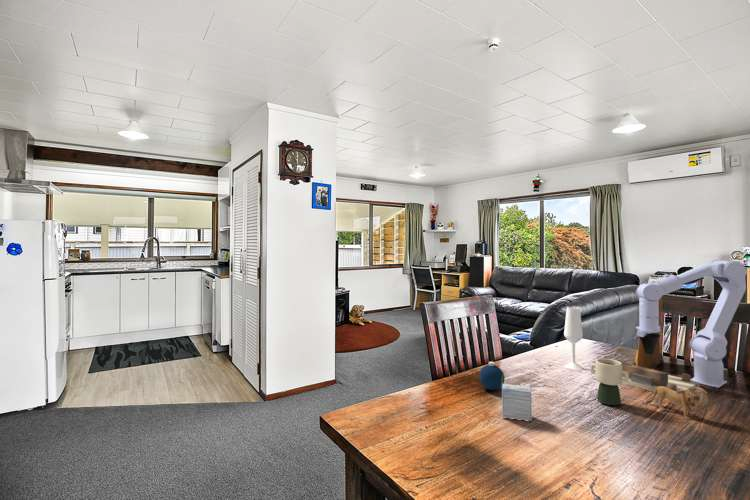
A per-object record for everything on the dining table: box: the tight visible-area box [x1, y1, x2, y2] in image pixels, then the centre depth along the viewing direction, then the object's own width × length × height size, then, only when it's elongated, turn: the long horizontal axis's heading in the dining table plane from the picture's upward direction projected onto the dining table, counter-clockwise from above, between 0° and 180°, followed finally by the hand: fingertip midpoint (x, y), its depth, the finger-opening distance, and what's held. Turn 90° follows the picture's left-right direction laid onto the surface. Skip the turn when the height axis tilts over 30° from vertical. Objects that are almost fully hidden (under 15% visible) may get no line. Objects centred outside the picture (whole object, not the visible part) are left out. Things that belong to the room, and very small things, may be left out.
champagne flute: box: [563, 306, 584, 371], centre depth 151 cm, size 7×7×24 cm
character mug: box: [589, 358, 629, 406], centre depth 116 cm, size 11×7×13 cm, turn 35°
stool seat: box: [621, 360, 700, 392], centre depth 133 cm, size 18×22×4 cm
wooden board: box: [621, 362, 669, 387], centre depth 131 cm, size 14×3×4 cm, turn 32°
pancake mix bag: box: [634, 297, 664, 369], centre depth 152 cm, size 7×19×28 cm, turn 122°
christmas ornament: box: [478, 360, 505, 391], centre depth 128 cm, size 8×8×10 cm
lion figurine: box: [645, 386, 709, 420], centre depth 109 cm, size 15×5×9 cm, turn 36°
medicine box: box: [501, 383, 533, 422], centre depth 107 cm, size 8×4×9 cm, turn 71°
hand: (649, 353), depth 136 cm, fingers closed
